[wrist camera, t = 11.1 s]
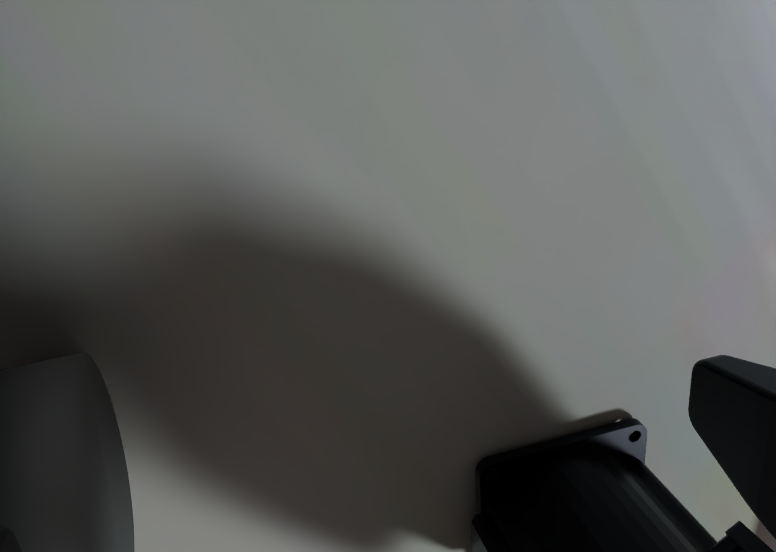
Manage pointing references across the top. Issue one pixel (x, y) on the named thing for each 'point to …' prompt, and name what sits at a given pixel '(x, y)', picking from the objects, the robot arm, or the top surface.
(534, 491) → the robot arm
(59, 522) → the trolley
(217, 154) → the top surface
